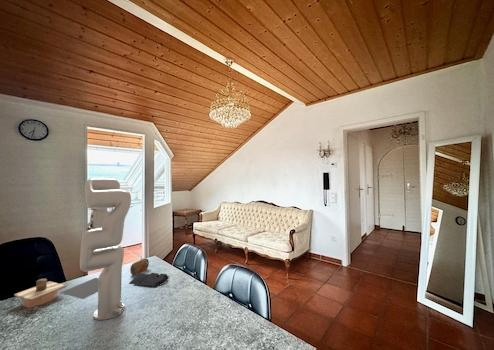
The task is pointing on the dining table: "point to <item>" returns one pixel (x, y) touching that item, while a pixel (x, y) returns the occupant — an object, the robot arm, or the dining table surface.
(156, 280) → the dark slate chunk
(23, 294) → the beech lid
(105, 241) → the robot arm
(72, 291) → the rubber mat
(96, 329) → the dining table surface
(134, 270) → the tin
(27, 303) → the terracotta bowl
